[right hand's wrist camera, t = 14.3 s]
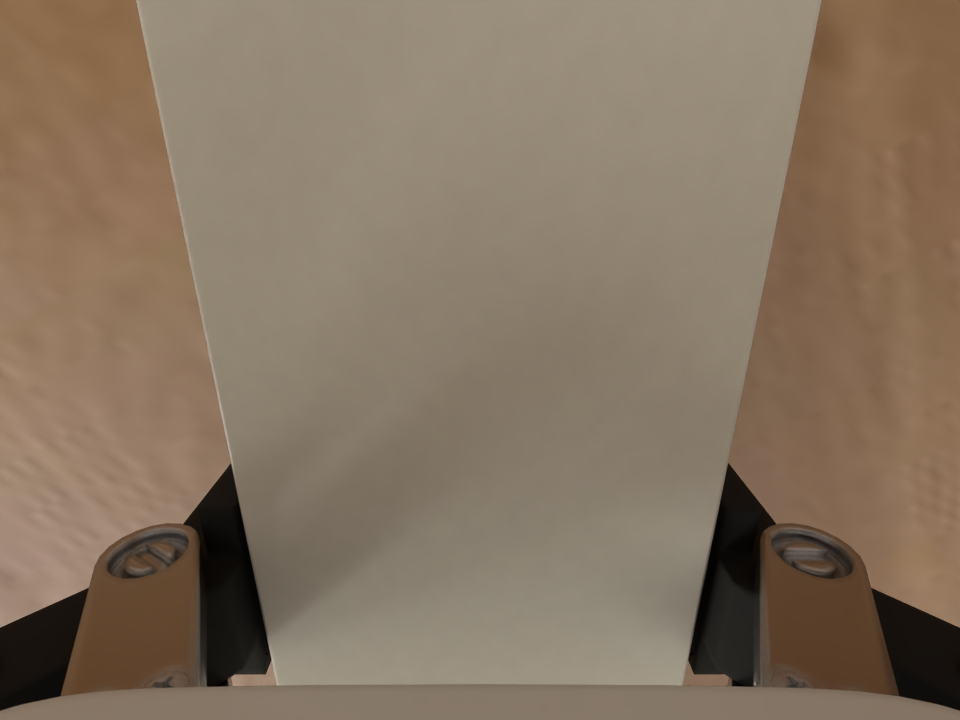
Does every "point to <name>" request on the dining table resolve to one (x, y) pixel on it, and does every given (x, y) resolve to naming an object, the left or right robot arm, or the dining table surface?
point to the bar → (479, 313)
